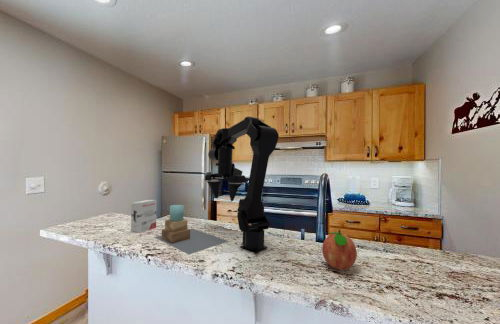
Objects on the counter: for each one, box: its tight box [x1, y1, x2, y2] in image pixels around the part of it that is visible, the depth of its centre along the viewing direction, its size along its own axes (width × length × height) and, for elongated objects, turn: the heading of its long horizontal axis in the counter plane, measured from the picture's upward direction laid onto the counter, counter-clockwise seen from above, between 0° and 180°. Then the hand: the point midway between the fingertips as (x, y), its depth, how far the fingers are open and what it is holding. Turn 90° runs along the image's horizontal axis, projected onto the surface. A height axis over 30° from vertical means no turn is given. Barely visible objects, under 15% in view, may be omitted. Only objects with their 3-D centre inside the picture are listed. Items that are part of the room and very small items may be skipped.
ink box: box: [130, 199, 157, 234], centre depth 87 cm, size 8×5×12 cm, turn 160°
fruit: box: [321, 229, 358, 271], centre depth 59 cm, size 9×10×10 cm
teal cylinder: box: [169, 204, 185, 222], centre depth 77 cm, size 5×5×5 cm
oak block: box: [164, 218, 188, 233], centre depth 77 cm, size 6×6×3 cm
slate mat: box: [154, 228, 229, 255], centre depth 77 cm, size 22×16×1 cm
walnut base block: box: [161, 227, 191, 244], centre depth 77 cm, size 7×7×3 cm
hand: (224, 199), depth 88 cm, fingers open, 9 cm apart
